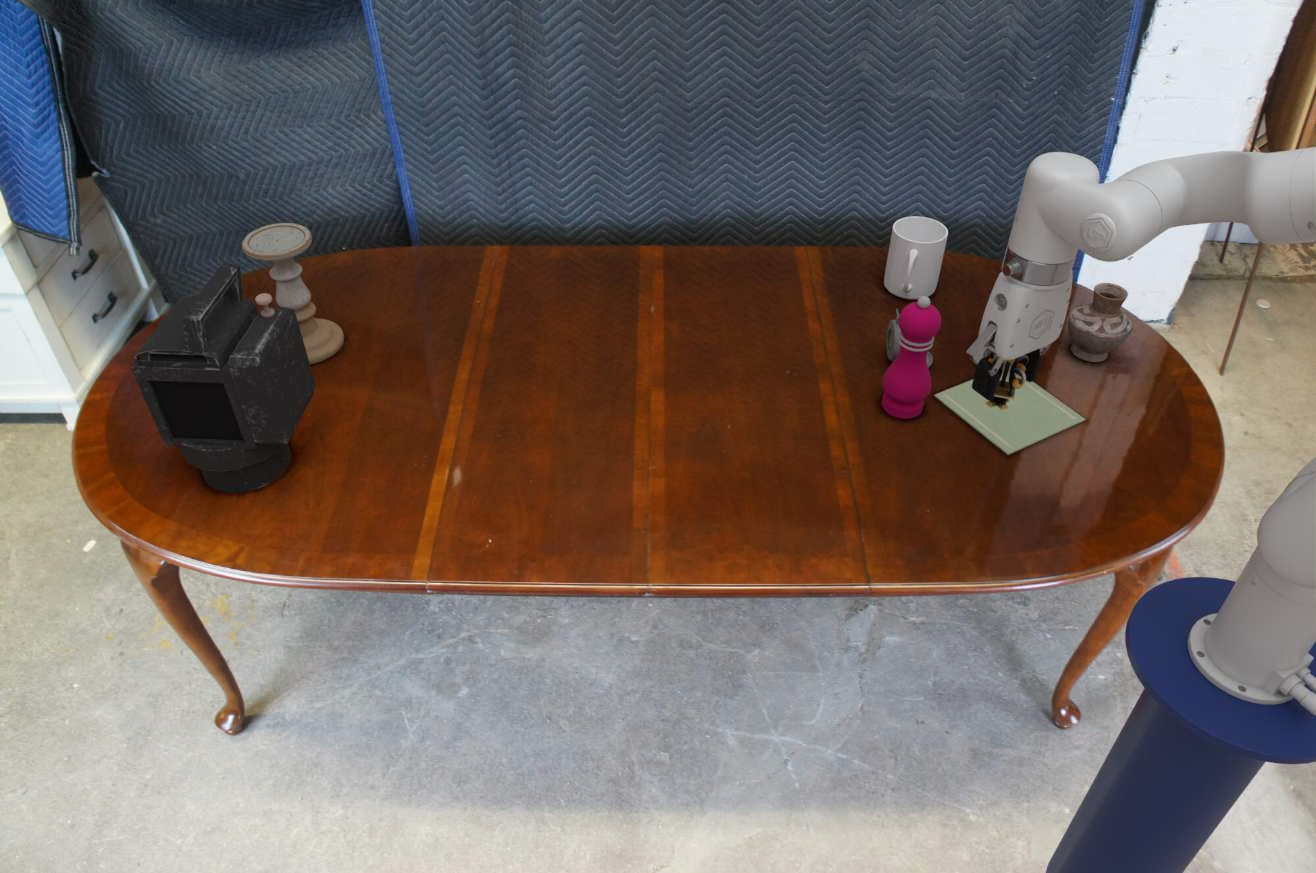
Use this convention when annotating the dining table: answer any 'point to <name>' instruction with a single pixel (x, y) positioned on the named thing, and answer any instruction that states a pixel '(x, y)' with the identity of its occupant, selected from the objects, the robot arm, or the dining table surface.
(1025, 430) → the napkin
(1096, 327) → the pottery
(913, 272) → the mug
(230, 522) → the dining table surface
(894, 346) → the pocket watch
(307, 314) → the candle holder
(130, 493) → the dining table surface
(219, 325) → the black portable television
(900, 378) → the pepper mill
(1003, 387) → the figurine
